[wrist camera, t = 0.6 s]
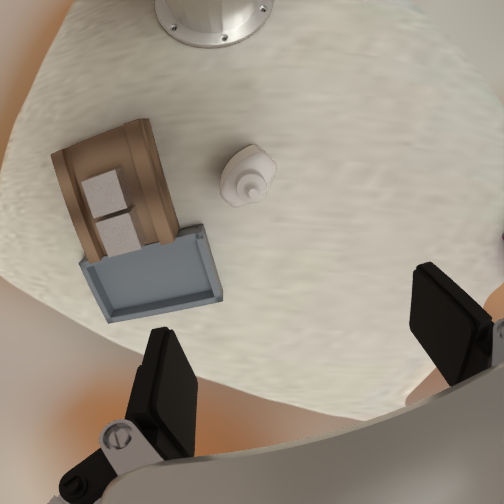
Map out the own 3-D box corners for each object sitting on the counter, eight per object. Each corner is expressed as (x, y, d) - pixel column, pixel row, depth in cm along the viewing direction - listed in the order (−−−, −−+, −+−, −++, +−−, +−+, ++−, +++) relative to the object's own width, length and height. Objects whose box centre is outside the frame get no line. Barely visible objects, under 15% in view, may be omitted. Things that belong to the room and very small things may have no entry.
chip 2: (103, 215, 31) (95, 223, 29) (135, 205, 31) (128, 212, 29) (115, 247, 33) (108, 257, 31) (147, 239, 33) (141, 248, 31)
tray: (86, 254, 36) (78, 263, 34) (203, 223, 36) (201, 231, 33) (113, 312, 40) (108, 323, 38) (222, 290, 40) (222, 301, 37)
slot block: (68, 149, 30) (50, 154, 26) (148, 118, 30) (137, 119, 26) (102, 247, 36) (89, 263, 32) (179, 227, 36) (173, 242, 32)
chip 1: (90, 176, 29) (81, 182, 27) (122, 165, 29) (115, 169, 27) (102, 211, 31) (93, 218, 29) (134, 201, 31) (127, 208, 29)
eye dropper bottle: (213, 156, 33) (207, 176, 22) (263, 141, 32) (282, 154, 21) (225, 192, 34) (225, 231, 24) (273, 178, 34) (297, 209, 23)
